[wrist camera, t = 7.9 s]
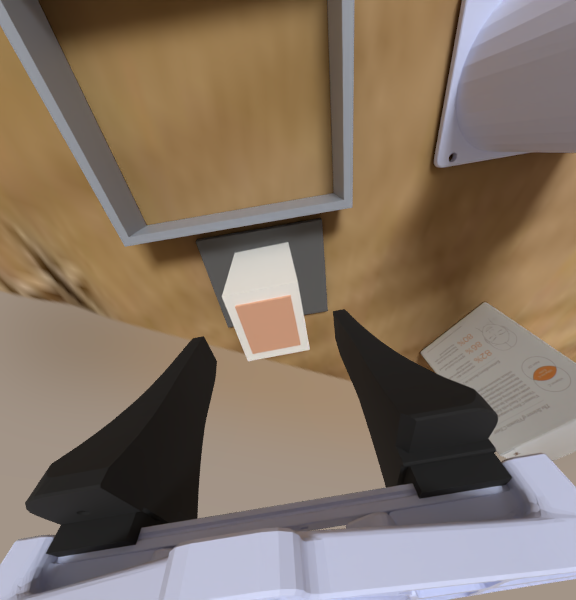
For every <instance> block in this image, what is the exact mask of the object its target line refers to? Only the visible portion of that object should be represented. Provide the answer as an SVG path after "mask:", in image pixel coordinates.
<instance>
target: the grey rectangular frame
mask: <svg viewBox="0 0 576 600" xmlns="http://www.w3.org/2000/svg"><path fill="white" fill-rule="evenodd" d="M327 6H328V36H329V67H330V97H331V128H332V159H333V189H334V193H332V194H326V195H320V196H315V197H309V198H303V199H297V200H291V201H286V202H280V203H274V204H268V205H263V206H257V207H251V208H245V209H239V210H234V211H228V212H222V213H216V214H210V215H205V216H199V217H193V218H187V219H182V220H176V221H170V222H164V223H158V224H153V225H146V223H145V221H144V219H143V217H142V215H141V213H140V211H139V209H138V207H137V205H136V202H135V200H134V198H133V196H132V194H131V192H130V190H129V188H128V186H127V184H126V182H125V180H124V178H123V176H122V173H121V171H120V169H119V167H118V165H117V163H116V161H115V159H114V157H113V155H112V153H111V151H110V149H109V147H108V145H107V142H106V140H105V138H104V136H103V134H102V132H101V130H100V128H99V126H98V124H97V122H96V120H95V118H94V116H93V113H92V111H91V109H90V107H89V105H88V103H87V101H86V99H85V97H84V95H83V93H82V91H81V89H80V87H79V84H78V82H77V80H76V78H75V76H74V74H73V72H72V70H71V68H70V66H69V64H68V62H67V60H66V58H65V56H64V53H63V51H62V49H61V47H60V45H59V43H58V41H57V39H56V37H55V35H54V33H53V31H52V29H51V27H50V24H49V22H48V20H47V18H46V16H45V14H44V12H43V10H42V8H41V6H40V4H39V2H38V0H0V25H1V27H2V29H3V31H4V33H5V34H6V36H7V38H8V40H9V41H10V43H11V45H12V47H13V49H14V50H15V52H16V54H17V56H18V57H19V59H20V61H21V63H22V65H23V66H24V68H25V70H26V72H27V73H28V75H29V77H30V79H31V81H32V82H33V84H34V86H35V88H36V89H37V91H38V93H39V95H40V97H41V98H42V100H43V102H44V104H45V105H46V107H47V109H48V111H49V112H50V114H51V116H52V118H53V120H54V121H55V123H56V125H57V127H58V128H59V130H60V132H61V134H62V136H63V137H64V139H65V141H66V143H67V144H68V146H69V148H70V150H71V152H72V153H73V155H74V157H75V159H76V160H77V162H78V164H79V166H80V168H81V169H82V171H83V173H84V175H85V176H86V178H87V180H88V182H89V183H90V185H91V187H92V189H93V191H94V192H95V194H96V196H97V198H98V199H99V201H100V203H101V205H102V207H103V208H104V210H105V212H106V214H107V215H108V217H109V219H110V221H111V223H112V224H113V226H114V228H115V230H116V231H117V233H118V235H119V237H120V239H121V240H122V242H123V244H124V246H131V245H137V244H143V243H149V242H154V241H160V240H166V239H172V238H178V237H184V236H189V235H195V234H201V233H207V232H213V231H218V230H224V229H230V228H236V227H242V226H248V225H253V224H259V223H265V222H271V221H277V220H282V219H288V218H294V217H300V216H306V215H312V214H317V213H323V212H329V211H335V210H341V209H346V208H352V190H353V80H354V0H327Z"/></svg>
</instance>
